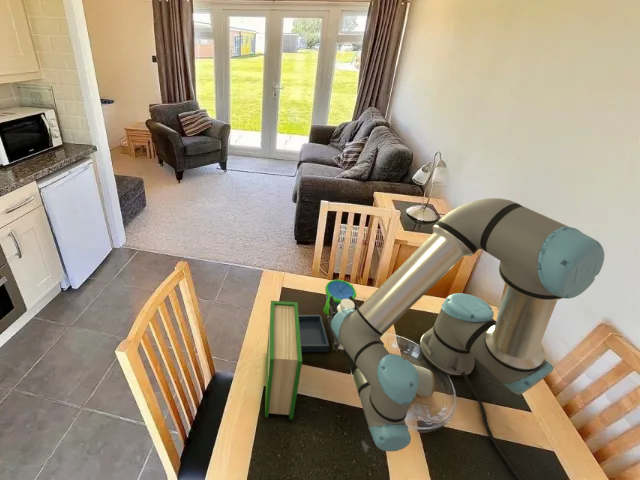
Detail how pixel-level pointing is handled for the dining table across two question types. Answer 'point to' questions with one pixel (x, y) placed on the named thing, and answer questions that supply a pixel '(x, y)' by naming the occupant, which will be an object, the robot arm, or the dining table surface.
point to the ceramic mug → (425, 382)
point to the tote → (312, 334)
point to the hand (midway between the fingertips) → (340, 299)
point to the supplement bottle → (345, 305)
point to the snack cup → (338, 293)
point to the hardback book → (283, 359)
